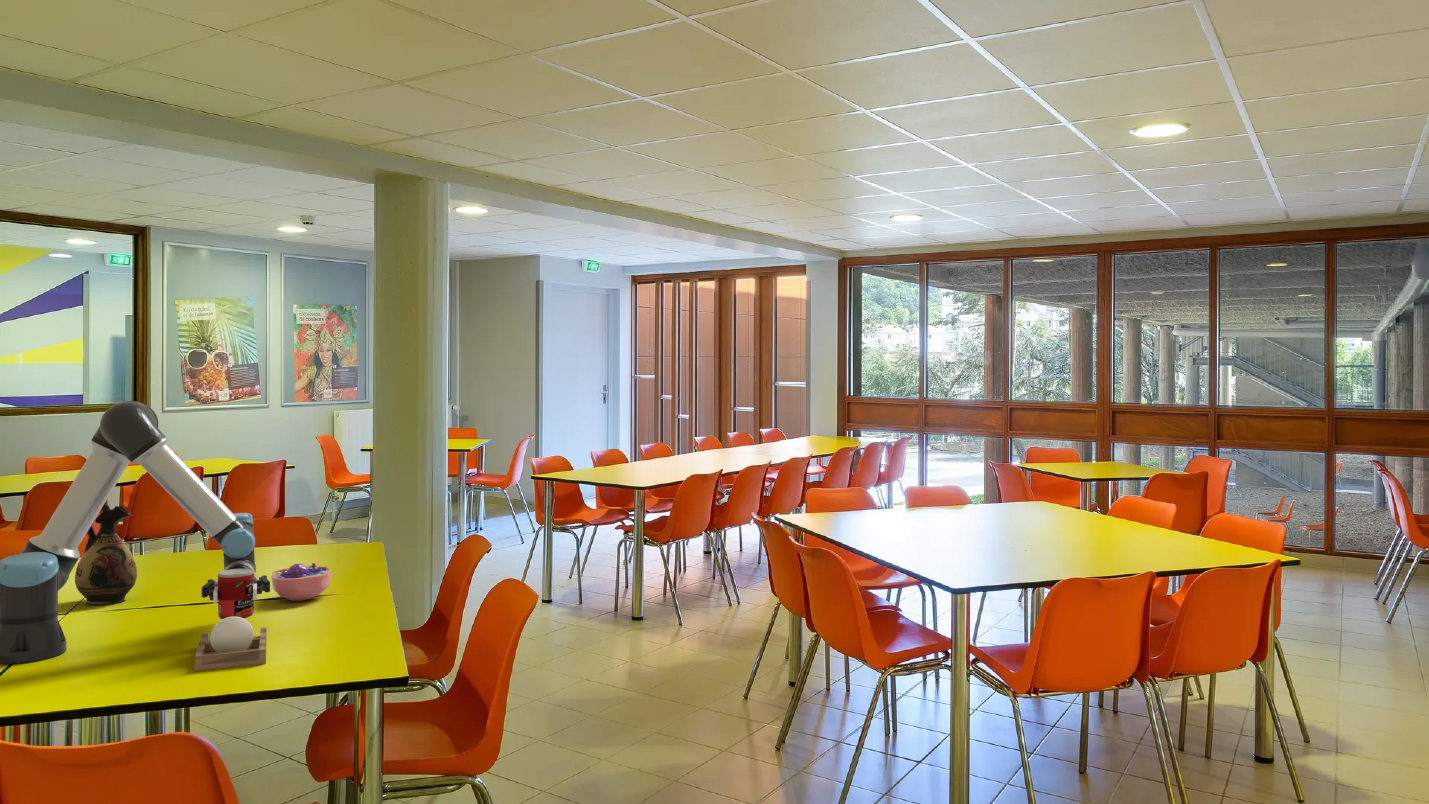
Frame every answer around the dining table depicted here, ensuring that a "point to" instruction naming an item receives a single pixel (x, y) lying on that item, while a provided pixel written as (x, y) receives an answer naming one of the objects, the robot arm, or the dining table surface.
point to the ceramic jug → (106, 562)
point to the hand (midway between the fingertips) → (235, 595)
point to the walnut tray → (230, 654)
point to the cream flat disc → (231, 635)
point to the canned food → (235, 593)
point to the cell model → (301, 581)
